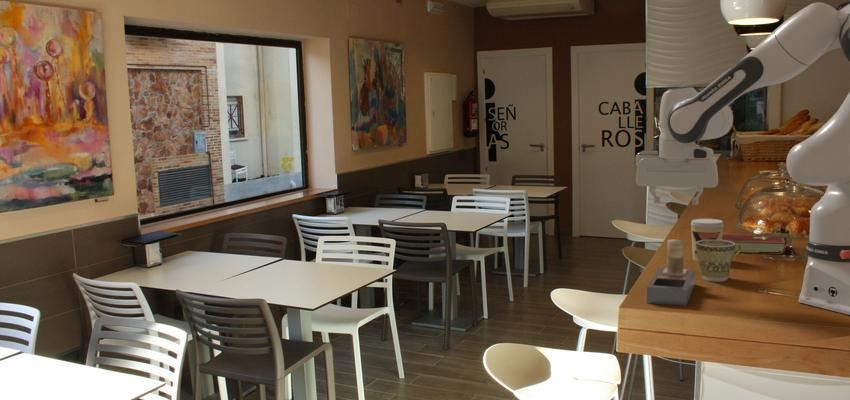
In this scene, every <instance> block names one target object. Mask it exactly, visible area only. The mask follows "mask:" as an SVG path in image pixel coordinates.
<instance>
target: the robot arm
mask: <svg viewBox="0 0 850 400" xmlns="http://www.w3.org/2000/svg"><path fill="white" fill-rule="evenodd" d="M835 49H836V50H837V49H841V51H842V54H843V55H844V57H845V58H846V60H847V61H848V62H850V1H846V2H842V3H840V4H839V5H837V7H836V8H834V7H833V6H832V5H830V4H827V3H824V2H813V3H811V4H809V5H807V6H805V7H804V8H802V9H800V10H798V12H796V13H795V14H793V15H791V16H790V17H789V18H787V19H786V20H785V21H784V22H782V23H781V24H780V25H779V26H778V27H777V28H775V29H774V30H773V31H772V32H771V33H770V34H769V35H767V37H766V38H764V39H763V40H762V41H760V43H759V44H758V45H756V47H755V48H754V49H752V50H751V51H750V52H748V53H747V54H746V55H745V56H744V57H742V58H741V59H740V60H739V61H738V62H736V63H735V64H734V65H732V67H730V68H729V69H727V70H726V71H724V72H723V73H722V74H721V75H720V76H718V77H717V78H716V79H715V80H713V81H712V82H711V83H710V84H709V85H707V86H706V87H705V88H704V89H702V90H701V91H700V92H699V91H697V90H696V89H695V87H692V86H681V87H680V86H679V87H673V88H670V89H667V90H666V91H665V92H663V94H662V96H661V100H660V107H659V126H660V134H659V139H658V150H641V151H640V152H638V153H637V154H636V155H635V158H634V159H635V163H634V164H635V166H636V167H637V168H636V174H635V183H636V185H637V186H639V187H649V192H650V193H651V196H652V197H653V204H659V205H660V204H661V196H660V195H657V193H656V190H657V187H661V188H663V187H664V188H665V187H667V188H696V192H698V194H697V195H696V197H695V196H694V197H692V198H691V205H692V206H698V205H699V198H700V196H701V195H702V194H703V192H704V188H705V189H712V188H717V186H718V184H719V175H718V173H719V172H718V166H717V163H716V162H717V161H716V160H715V159H714V158H713V157H714V150H713V149H712V148H710V147H707V146H704V145H702V144H696V142H698V141H707V140H712V139H718V138H722V137H723V136H725V135H727V134H729V132H730V131H731V130H732V128H733V125H734V120H735V118H734V111H733V110H732V108H731V106H729V105H730V104H732V103H733V102H734V101H736V100H737V99H738V98H740V97H741V96H743V95H745V94H747V93H749V92H751V91H754V90H757V89H761V88H765V87H770V86H773V85H774V86H775V85H779V84H783V83H785V82H788V81H790V80H791V79H793V78H794V77H796V76H798V75H800V74H801V73H802V72H804V71H805V70H806V69H807V68H809V67H810V66H811V65H813V64H814V63H815V62H816V61H817V60H818V59H819V58H820V57H821V56H822V55H825V54H826V53H828V52H830V51H833V50H835ZM785 163H786V164H785V165H786V170H787V173H788V175H789V176H790V178H791V179H792V180H793V181H795V182H796V183H797V184H802V185H808V186H814V187H821V186H822V187H823V186H827V187H826V190H825V193H824V194H823V196H822V197H821V198H820V199H819V200H818V201H817V202H816V203H815V204H814V205H812V207H811V209H810V215H809V235H808V236H809V237H808V238H809V239H808V240H807V243H806V247H805V248H806V255H807V256H808V257H807V262H806V266H805V270H804V274H803V281H802V287H801V289H800V290H801V292H800V294H799V298H798V302H799V303H802V304H805V305H809V306H813V307H816V308H819V309H820V308H821V309H823V310H824V309H825V310H828V311H832V312H837V313H840V314H845V315H849V316H850V91H849V93H848V94H847V96H846V97H845V99H844V100H843V102H842V103H841V105H840V107H839V108H838V110H837V111H836V112H835V113H834V114H833V115H832V116H831V118H829V119H828V120H827V121H826V123H824V124H823V125H822V126H821V127H820V128H819V129H817V131H815V132H814V133H813V134H812V135H811V136H809V137H808V138H806V139H804V140H803V141H801V142H799V143H797V144H795V145H794V146H793V147H791V149H789V152H788V154H787V155H786V162H785Z"/></svg>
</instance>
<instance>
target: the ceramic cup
mask: <svg viewBox="0 0 850 400" xmlns="http://www.w3.org/2000/svg"><path fill="white" fill-rule="evenodd" d="M736 245H738V246H739V250H738V252H734V250H735V246H736ZM696 247H697V254H698V258H699V262H698V263H699V268H700V274H701V275H700V276H701V279H702V280H703V281H706V282H714V283H715V282H717V283H718V282H726V281H728V279H729V276H730V275H729V274H730V270H731V265H732V261H733V260H734V258H735V257H736V256H737V255H739V253H741V252H740V251H741V246H740V244H738V243H734V242H731V241H726V240H700V241H697V242H696Z"/></svg>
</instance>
